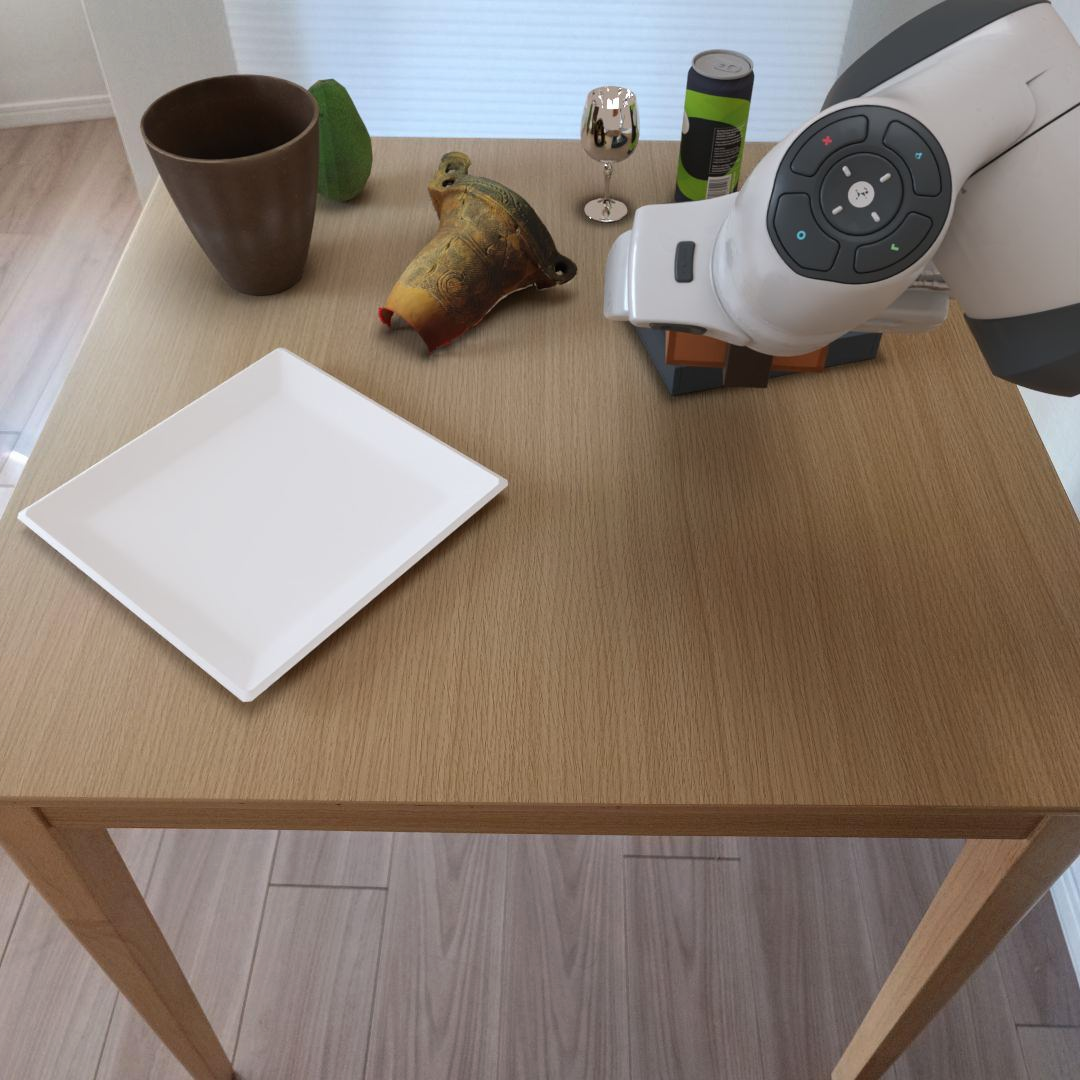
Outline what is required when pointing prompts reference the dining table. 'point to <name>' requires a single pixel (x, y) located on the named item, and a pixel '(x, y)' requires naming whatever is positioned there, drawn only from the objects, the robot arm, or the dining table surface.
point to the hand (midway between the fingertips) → (755, 311)
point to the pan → (737, 359)
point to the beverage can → (714, 124)
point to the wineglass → (609, 141)
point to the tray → (702, 378)
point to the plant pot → (241, 173)
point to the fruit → (340, 143)
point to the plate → (262, 516)
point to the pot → (473, 256)
